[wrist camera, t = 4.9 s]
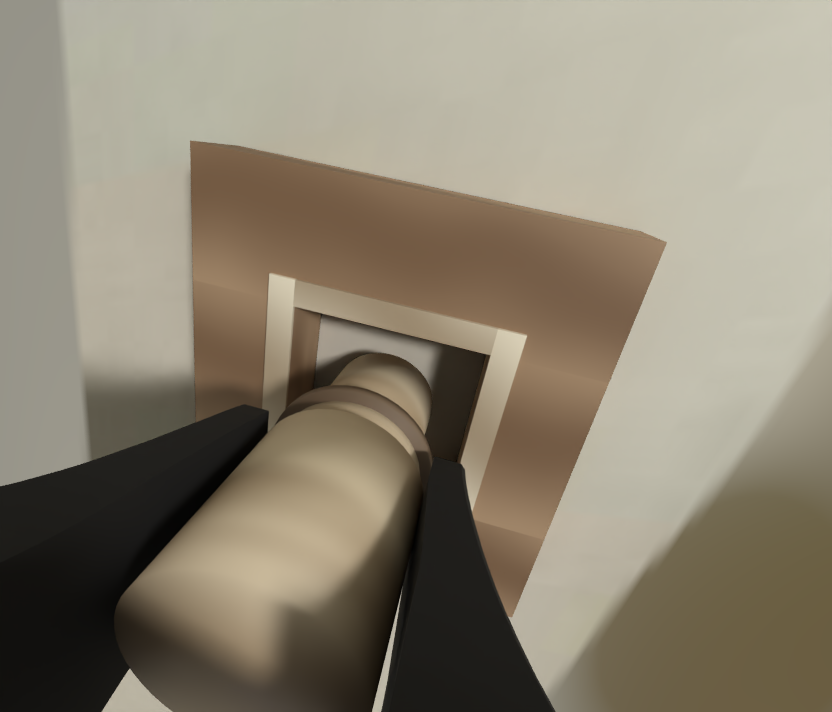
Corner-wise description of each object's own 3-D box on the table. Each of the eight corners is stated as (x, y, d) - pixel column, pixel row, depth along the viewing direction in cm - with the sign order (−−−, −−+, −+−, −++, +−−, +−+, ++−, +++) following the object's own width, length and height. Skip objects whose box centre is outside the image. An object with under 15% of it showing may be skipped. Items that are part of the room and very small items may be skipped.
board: (511, 567, 16) (511, 620, 14) (230, 483, 17) (195, 522, 15) (640, 231, 11) (668, 243, 9) (237, 146, 12) (187, 140, 10)
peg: (429, 468, 14) (350, 789, 7) (314, 432, 14) (117, 702, 7) (463, 361, 12) (404, 631, 5) (332, 322, 13) (101, 527, 5)
